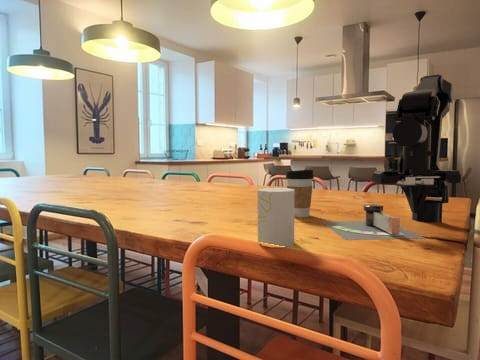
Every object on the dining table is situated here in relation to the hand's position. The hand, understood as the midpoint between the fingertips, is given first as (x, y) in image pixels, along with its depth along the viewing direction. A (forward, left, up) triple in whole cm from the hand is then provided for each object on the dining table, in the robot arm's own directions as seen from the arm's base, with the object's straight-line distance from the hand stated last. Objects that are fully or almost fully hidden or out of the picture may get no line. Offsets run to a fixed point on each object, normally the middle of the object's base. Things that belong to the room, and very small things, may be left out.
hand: (414, 213), depth 81 cm
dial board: (+10, -4, -6) cm, 12 cm away
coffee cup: (+23, -24, -6) cm, 33 cm away
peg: (+7, -3, -5) cm, 9 cm away
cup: (+34, +4, -6) cm, 34 cm away
